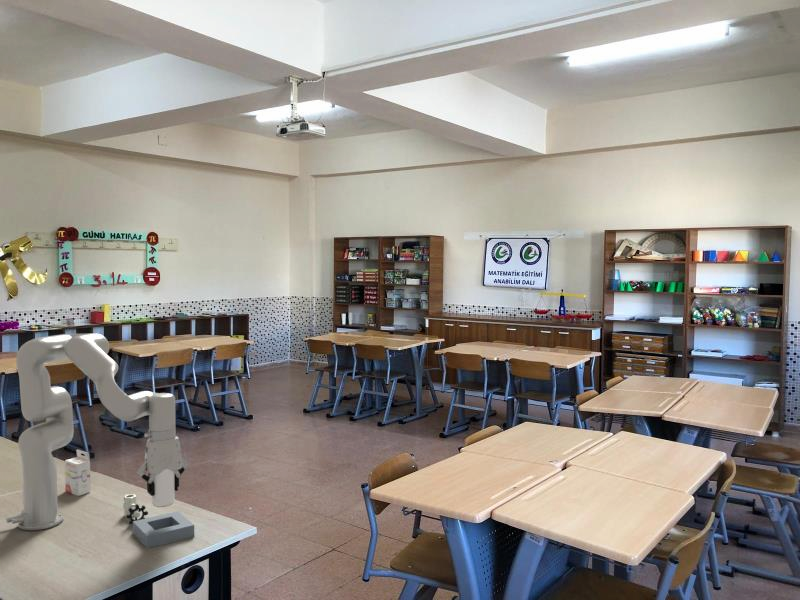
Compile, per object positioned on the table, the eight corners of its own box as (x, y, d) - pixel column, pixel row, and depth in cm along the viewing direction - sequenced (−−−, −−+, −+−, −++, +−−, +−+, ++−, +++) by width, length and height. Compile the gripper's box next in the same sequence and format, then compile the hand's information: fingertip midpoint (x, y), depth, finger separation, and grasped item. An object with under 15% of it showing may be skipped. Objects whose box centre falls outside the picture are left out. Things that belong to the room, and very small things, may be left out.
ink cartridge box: (64, 491, 237) (63, 451, 236) (77, 488, 241) (76, 448, 240) (78, 496, 232) (77, 455, 231) (91, 492, 236) (90, 452, 235)
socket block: (147, 548, 190) (147, 536, 190) (132, 532, 201) (132, 521, 201) (194, 536, 199) (194, 524, 199) (178, 521, 210) (177, 511, 210)
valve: (118, 515, 215) (126, 527, 205) (118, 495, 215) (126, 507, 205) (139, 511, 219) (148, 523, 209) (139, 492, 218) (148, 503, 209)
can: (153, 508, 195) (153, 469, 195) (151, 501, 201) (150, 463, 200) (176, 505, 198) (175, 466, 198) (173, 498, 204) (172, 460, 203)
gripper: (137, 441, 190) (137, 501, 191) (195, 432, 201) (195, 489, 202) (129, 436, 196) (130, 494, 197) (186, 427, 207) (186, 483, 208)
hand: (163, 491), depth 199 cm, fingers closed on can, 6 cm apart
